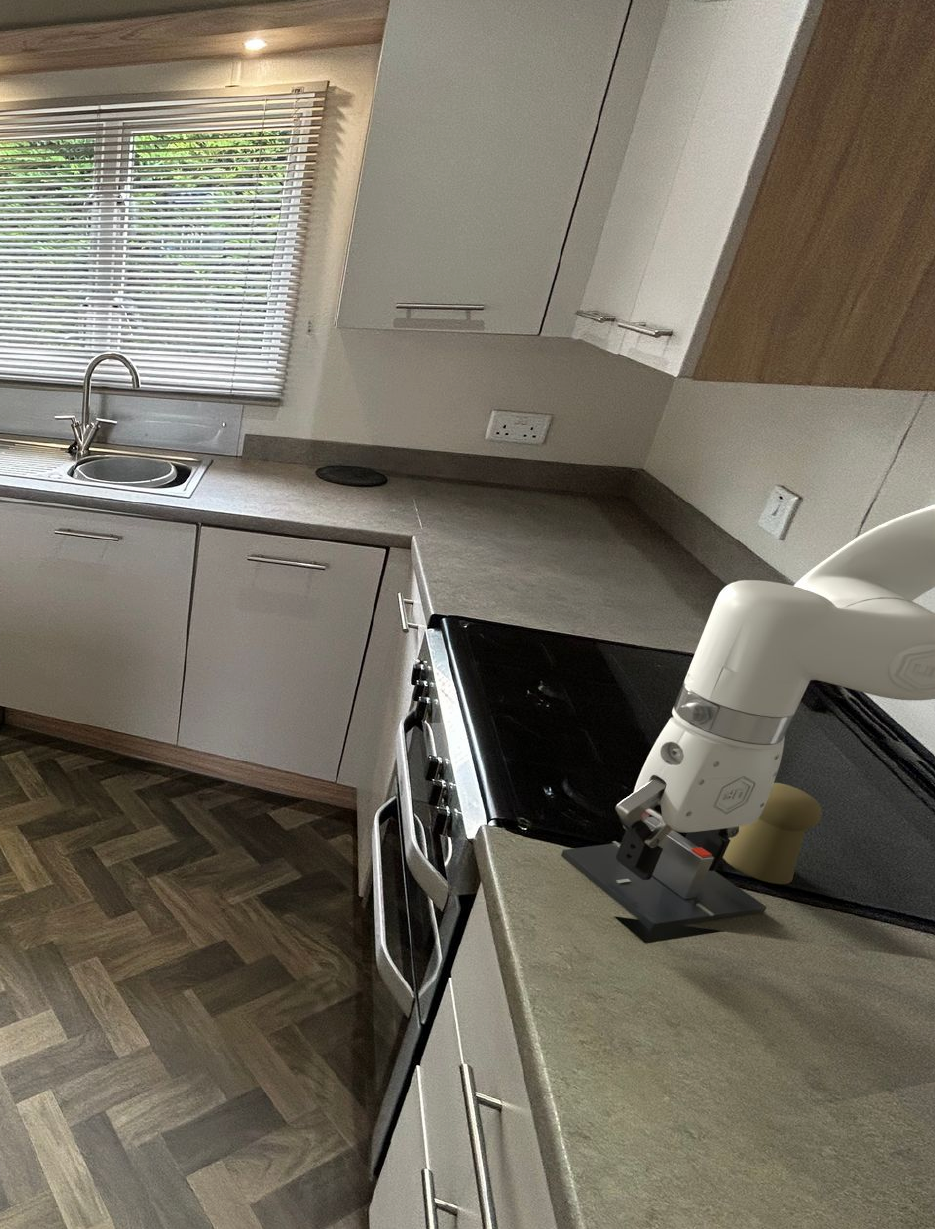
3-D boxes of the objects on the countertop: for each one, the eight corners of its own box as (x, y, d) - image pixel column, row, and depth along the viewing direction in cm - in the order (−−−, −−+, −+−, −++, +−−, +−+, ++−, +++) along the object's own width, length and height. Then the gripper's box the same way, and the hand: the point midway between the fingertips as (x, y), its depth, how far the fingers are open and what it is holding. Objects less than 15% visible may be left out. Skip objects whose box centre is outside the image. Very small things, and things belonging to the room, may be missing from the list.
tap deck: (656, 854, 83) (664, 834, 82) (758, 927, 73) (768, 906, 72) (555, 867, 80) (562, 847, 80) (646, 944, 71) (655, 923, 70)
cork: (762, 903, 76) (806, 815, 72) (697, 862, 81) (734, 778, 77) (803, 892, 78) (849, 805, 74) (736, 852, 83) (775, 769, 79)
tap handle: (626, 856, 79) (643, 815, 77) (637, 855, 79) (654, 814, 77) (684, 899, 73) (703, 857, 71) (696, 897, 73) (715, 855, 71)
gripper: (693, 744, 64) (626, 904, 71) (854, 727, 67) (776, 882, 73) (612, 699, 71) (558, 848, 77) (762, 686, 74) (698, 831, 80)
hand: (665, 864), depth 75 cm, fingers open, 7 cm apart
